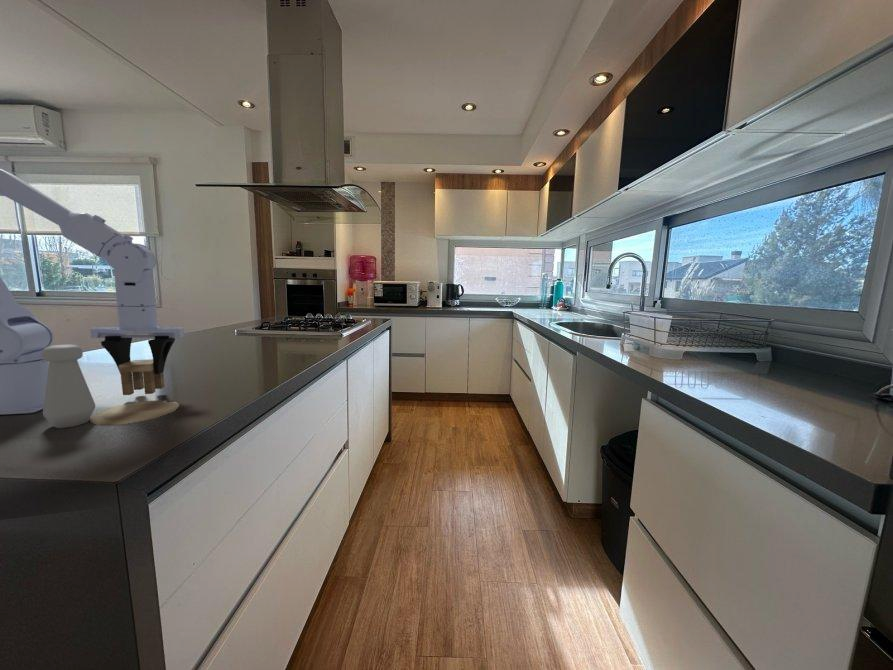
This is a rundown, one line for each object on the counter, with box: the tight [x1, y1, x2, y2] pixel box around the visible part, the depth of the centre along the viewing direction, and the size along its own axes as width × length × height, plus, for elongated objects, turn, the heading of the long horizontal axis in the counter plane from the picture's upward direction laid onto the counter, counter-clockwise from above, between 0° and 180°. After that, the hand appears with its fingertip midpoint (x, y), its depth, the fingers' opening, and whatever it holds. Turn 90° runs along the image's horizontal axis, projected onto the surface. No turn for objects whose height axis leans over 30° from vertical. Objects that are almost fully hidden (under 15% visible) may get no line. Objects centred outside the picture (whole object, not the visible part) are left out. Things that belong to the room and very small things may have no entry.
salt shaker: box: [42, 343, 96, 429], centre depth 56 cm, size 6×6×13 cm
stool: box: [118, 358, 166, 396], centre depth 70 cm, size 5×5×6 cm
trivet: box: [89, 400, 180, 426], centre depth 62 cm, size 12×12×1 cm
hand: (142, 373), depth 69 cm, fingers closed on stool, 5 cm apart
